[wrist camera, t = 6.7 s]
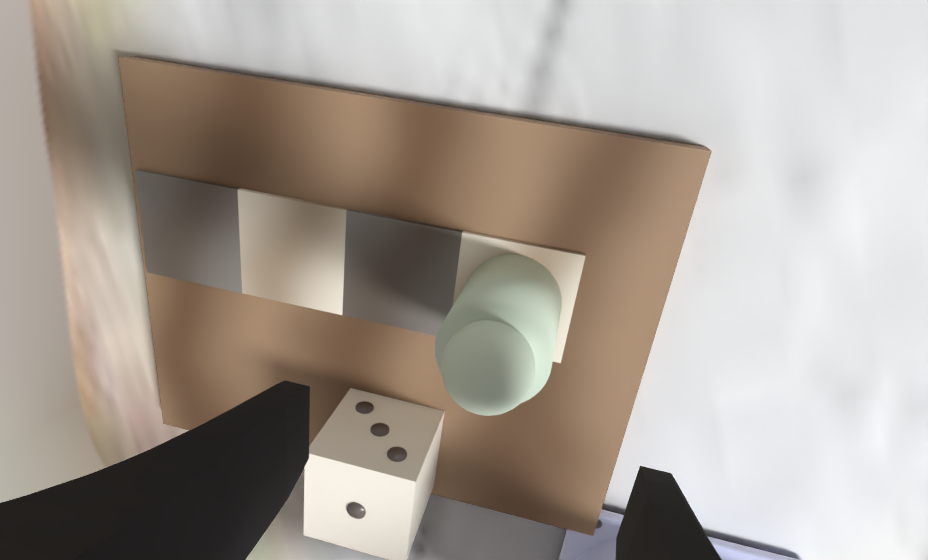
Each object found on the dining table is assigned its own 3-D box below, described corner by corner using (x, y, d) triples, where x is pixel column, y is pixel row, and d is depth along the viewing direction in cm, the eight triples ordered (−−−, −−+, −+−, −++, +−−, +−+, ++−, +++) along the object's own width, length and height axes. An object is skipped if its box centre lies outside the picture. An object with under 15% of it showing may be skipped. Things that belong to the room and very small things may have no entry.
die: (444, 410, 22) (415, 481, 18) (433, 485, 24) (404, 566, 20) (349, 386, 23) (302, 451, 19) (344, 462, 24) (301, 536, 21)
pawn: (573, 268, 18) (561, 356, 13) (548, 354, 20) (527, 464, 14) (475, 243, 19) (425, 317, 14) (457, 328, 20) (406, 425, 15)
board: (706, 147, 17) (712, 152, 16) (593, 521, 24) (593, 540, 23) (135, 56, 20) (113, 57, 19) (174, 413, 26) (160, 426, 26)
